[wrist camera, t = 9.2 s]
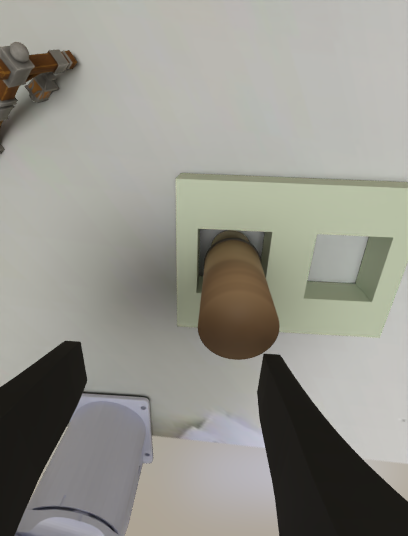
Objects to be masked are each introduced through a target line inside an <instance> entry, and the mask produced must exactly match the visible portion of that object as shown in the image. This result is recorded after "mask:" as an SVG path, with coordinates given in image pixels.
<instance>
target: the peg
mask: <svg viewBox="0 0 408 536" xmlns="http://www.w3.org/2000/svg"><path fill="white" fill-rule="evenodd" d="M279 328H280V324H279V318H278V315H277V312H276V309H275V306H274V302H273V299H272V296H271V293H270V290H269V287H268V284H267V281H266V278H265V274H264V271H263V268H262V265H261V260H260V256H259V254H258V251H257V250H256V248H255V247H254V246H253V245H252V244H251V243H250V242H249V240H248V239H247V237H246V236H245V235H244V234H242V233H240V232H238V231H234V230H229V231H224V232H222V233H220V234H218V235H217V236H216V237H215V238H214V240H213V242H212V244H211V247H210V248H209V250H208V251H207V253H206V256H205V259H204V275H203V284H202V293H201V302H200V310H199V319H198V333H199V336H200V339H201V341H202V342H203V344H204V345H205V346H206V347H207V348H208V349H209V350H210V351H212V352H213V353H215V354H216V355H219V356H221V357H224V358H228V359H237V360H240V359H248V358H252V357H255V356H258V355H260V354H262V353H263V352H265V351H266V350H268V349H269V348H270V347H271V346H272V345H273V343H274V342H275V340H276V339H277V336H278V333H279Z"/></svg>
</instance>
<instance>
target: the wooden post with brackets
mask: <svg viewBox="0 0 408 536" xmlns="http://www.w3.org/2000/svg"><path fill="white" fill-rule="evenodd" d="M76 63H77V61H76V59H75V58H74V56H73V55H72V54H71V52H70V51H69V50H68V51H62V52H61V51H60V50H49V51H48V53H45V54H35V55H29V52H28V50H27V48H26V47H25V46H24V45H23V44H21V43H19V42H14V43H12V44H11V45H10V46H4V47H0V127H1V124H2V122H3V120H7V119H8V115H9V114H10V112H11V110H12V109H13V108H14V106H13V105H14V104H17V103H16V102H17V101H18V100H17V99H16V98H15V95H16V92H17V90H18V88H19V86H20V85H24V84H26V82H27V81H29V80H31V79H32V78H33V79H32V80H31V82H30V83H29V84H28V85H25V88H26V89H27V90H28V91H29V93H30V94H29V96H30V98H31V100H33V101H34V102H41V101H46V100H48V98H49V96H50V94H51V92H52V91H53V90H58V89H59V88H58V86H57V85H56V84H55V82H54V79H57V78H56V77H55V76H54V74H55V73H60V72H64V71H65V69H66V70H68V69H73V68H74V66H75V65H76ZM53 73H54V74H53ZM3 150H5V149H4V148H3V147H2V146H1V145H0V154H2V152H3Z"/></svg>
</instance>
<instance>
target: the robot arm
mask: <svg viewBox="0 0 408 536" xmlns="http://www.w3.org/2000/svg"><path fill="white" fill-rule="evenodd" d="M86 383H87V376H86V370H85V365H84V359H83V353H82V348H81V342H75V341H64V342H63V343H62V344H60V345H59V346H57V347H56V348H54V349H53V350H52V351H50V352H49V353H48V354H46V355H45V356H44V357H42V358H41V359H40V360H38V361H37V362H35V363H34V364H33V365H31V366H30V367H29V368H27V369H26V370H24V371H23V372H22V373H20V374H19V375H17V376H16V377H15V378H13V379H12V380H10V381H9V382H7V383H6V384H4V385H3V386H1V387H0V536H124V535H125V533H126V530H127V528H128V524H129V520H130V516H131V511H132V507H133V502H134V499H135V494H136V490H137V486H138V481H139V476H140V473H141V468H142V464H143V463H152V461H153V449H152V448H153V447H152V433H151V419H150V405H149V400H148V399H147V398H145V397H131V396H116V395H100V394H84V393H83V391H84V388H85V385H86ZM257 394H258V406H259V417H260V423H261V428H262V433H263V438H264V443H265V448H266V453H267V458H268V463H269V468H270V473H271V477H272V483H273V489H274V495H275V502H276V510H277V519H278V527H279V536H408V501H406V500H405V499H404V498H403V497H402V496H401V495H400V494H399V493H397V492H396V491H395V490H394V489H393V488H392V487H391V486H390V485H389V484H388V483H386V482H385V480H383V479H382V478H381V477H380V476H379V475H378V474H377V473H376V472H375V471H374V470H373V469H372V468H371V467H370V466H369V465H368V464H367V463H366V462H364V460H363V459H362V458H361V457H360V456H359V455H358V454H357V453H356V452H355V451H354V450H353V449H352V448H351V447H350V446H349V445H348V444H347V442H346V441H345V440H344V439H343V438H342V437H341V436H340V435H339V434H338V432H337V431H336V430H335V429H334V428H333V427H332V425H331V424H330V423H329V422H328V421H327V419H326V418H325V417H324V416H323V415H322V413H321V412H320V411H319V409H318V408H317V407H316V406H315V404H314V403H313V402H312V400H311V399H310V398H309V396H308V395H307V394H306V392H305V391H304V390H303V388H302V387H301V385H300V384H299V382H298V381H297V380H296V378H295V377H294V375H293V374H292V372H291V371H290V369H289V368H288V366H287V365H286V363H285V361H284V360H283V358H282V357H281V356H280V355H275V354H264V355H263V361H262V367H261V373H260V379H259V385H258V391H257ZM69 422H70V424H69V426H68V428H67V430H66V432H65V434H64V436H63V438H62V440H61V441H60V443H59V445H58V447H57V449H56V451H55V453H54V455H53V457H52V459H51V461H50V463H49V465H48V467H47V469H46V471H45V472H44V474H43V477H42V479H41V480H40V482H39V484H38V486H37V488H36V490H35V492H34V494H33V496H32V498H31V500H30V497H31V495H32V493H33V491H34V489H35V486H36V484H37V482H38V480H39V477H40V475H41V473H42V471H43V469H44V467H45V465H46V464H47V462H48V460H49V458H50V456H51V454H52V452H53V450H54V449H55V447H56V445H57V443H58V441H59V439H60V437H61V435H62V434H63V432H64V430H65V428H66V427H67V425H68V423H69ZM29 500H30V502H29ZM28 502H29V503H28Z"/></svg>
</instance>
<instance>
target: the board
mask: <svg viewBox="0 0 408 536" xmlns="http://www.w3.org/2000/svg"><path fill="white" fill-rule="evenodd" d="M200 229H218V230H239V231H261V232H265V233H264V241H263V249H262V256H261V265H262V268H263V271H264V274H265V278H266V281H267V284H268V287H269V290H270V293H271V296H272V299H273V302H274V306H275V309H276V312H277V315H278V318H279V324H280V328H279V332H286V333H304V334H321V335H339V336H357V337H375V338H380V335H381V333H382V330H383V327H384V325H385V322H386V319H387V317H388V314H389V311H390V308H391V306H392V303H393V300H394V298H395V295H396V292H397V290H398V287H399V284H400V281H401V279H402V276H403V273H404V271H405V268H406V265H407V263H408V182H391V181H366V180H341V179H316V178H290V177H265V176H240V175H215V174H190V173H181V174H180V175H179V176H178V177H177V178H176V268H177V326H179V327H197V328H198V319H199V310H200V302H201V293H202V284H203V276H199V251H200ZM317 234H327V235H349V236H369V239H368V242H367V246H366V249H365V253H364V256H363V259H362V263H361V266H360V270H359V273H358V276H357V280H356V283H355V284H351V283H331V282H312V281H307V279H308V275H309V270H310V265H311V260H312V256H313V251H314V246H315V242H316V237H317Z"/></svg>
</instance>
